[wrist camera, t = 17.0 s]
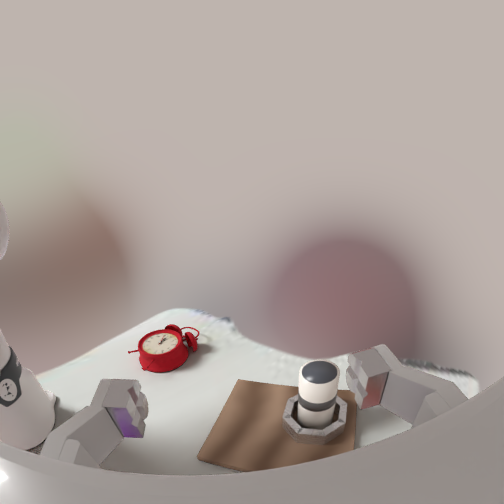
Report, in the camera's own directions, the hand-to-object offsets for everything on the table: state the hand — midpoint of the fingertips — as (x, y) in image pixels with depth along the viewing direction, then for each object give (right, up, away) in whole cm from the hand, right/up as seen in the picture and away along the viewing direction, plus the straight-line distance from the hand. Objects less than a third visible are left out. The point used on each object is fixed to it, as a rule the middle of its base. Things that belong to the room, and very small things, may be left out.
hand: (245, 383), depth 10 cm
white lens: (+9, -19, +25) cm, 33 cm away
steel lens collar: (+9, -19, +25) cm, 33 cm away
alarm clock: (-17, -16, +46) cm, 51 cm away
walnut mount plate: (+5, -21, +26) cm, 33 cm away
